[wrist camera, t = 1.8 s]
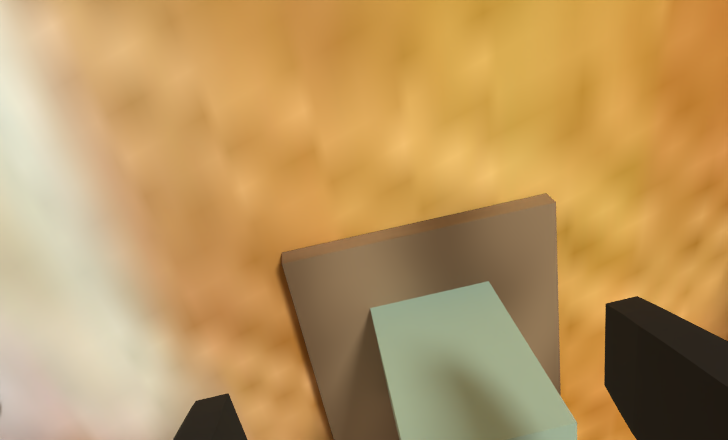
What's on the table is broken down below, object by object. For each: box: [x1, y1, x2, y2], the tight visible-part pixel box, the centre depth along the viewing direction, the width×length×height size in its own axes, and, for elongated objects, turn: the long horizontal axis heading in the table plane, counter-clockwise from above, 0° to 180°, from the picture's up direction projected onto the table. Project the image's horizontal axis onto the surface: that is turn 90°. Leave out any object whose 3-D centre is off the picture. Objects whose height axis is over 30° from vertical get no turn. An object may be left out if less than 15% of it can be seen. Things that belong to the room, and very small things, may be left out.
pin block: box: [282, 194, 560, 440], centre depth 20 cm, size 10×10×4 cm
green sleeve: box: [370, 281, 577, 440], centre depth 18 cm, size 5×5×7 cm
